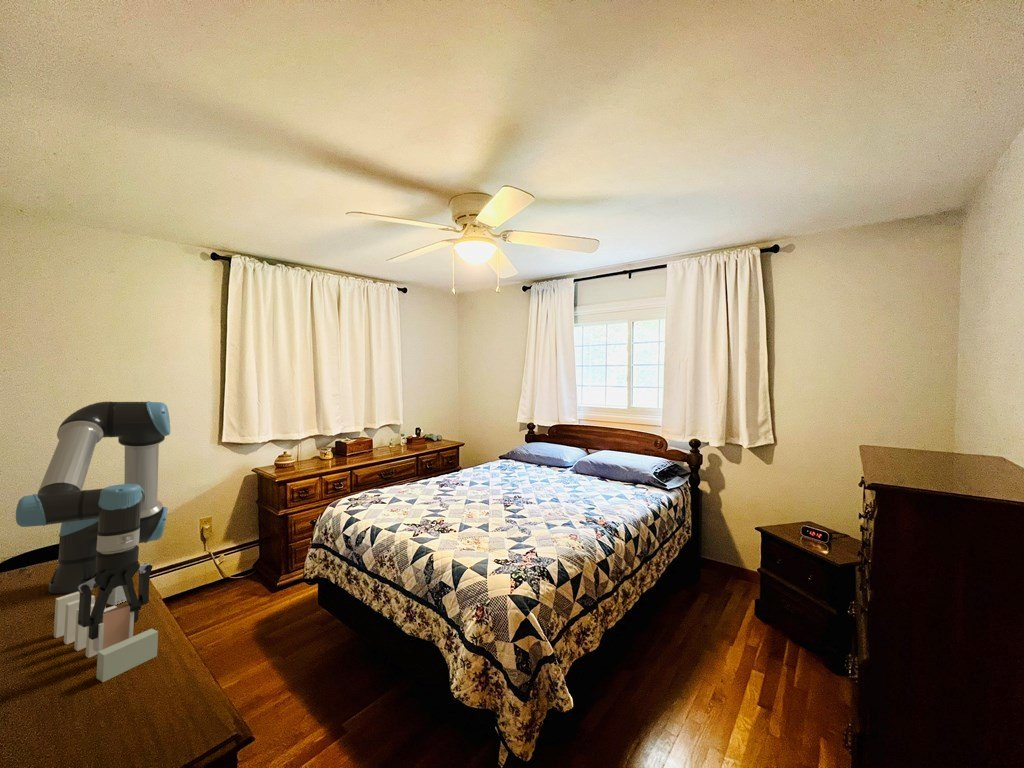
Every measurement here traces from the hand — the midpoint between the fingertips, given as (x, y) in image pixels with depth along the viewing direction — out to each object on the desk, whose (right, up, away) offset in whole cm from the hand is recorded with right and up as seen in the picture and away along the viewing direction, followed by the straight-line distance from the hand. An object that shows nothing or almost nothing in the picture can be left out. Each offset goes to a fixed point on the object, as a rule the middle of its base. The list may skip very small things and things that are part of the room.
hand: (113, 643), depth 97 cm
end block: (+7, -4, -3) cm, 8 cm away
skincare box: (-25, -4, +26) cm, 36 cm away
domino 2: (-17, -3, +7) cm, 18 cm away
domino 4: (-6, -4, +2) cm, 7 cm away
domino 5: (0, -2, 0) cm, 2 cm away
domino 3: (-11, -3, +5) cm, 13 cm away
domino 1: (-22, -3, +10) cm, 24 cm away
